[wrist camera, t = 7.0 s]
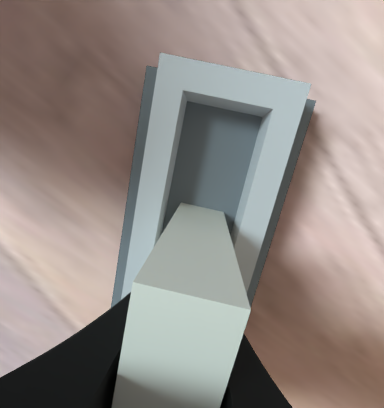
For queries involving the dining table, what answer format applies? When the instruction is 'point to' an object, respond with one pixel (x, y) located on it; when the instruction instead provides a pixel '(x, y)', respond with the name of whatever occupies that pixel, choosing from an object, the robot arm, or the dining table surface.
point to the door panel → (183, 317)
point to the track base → (212, 158)
